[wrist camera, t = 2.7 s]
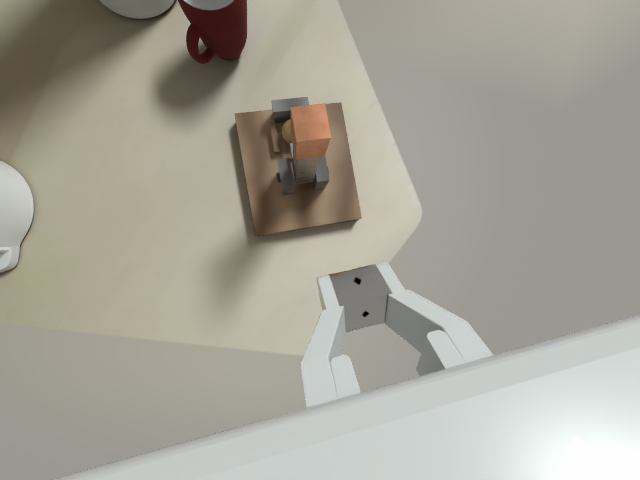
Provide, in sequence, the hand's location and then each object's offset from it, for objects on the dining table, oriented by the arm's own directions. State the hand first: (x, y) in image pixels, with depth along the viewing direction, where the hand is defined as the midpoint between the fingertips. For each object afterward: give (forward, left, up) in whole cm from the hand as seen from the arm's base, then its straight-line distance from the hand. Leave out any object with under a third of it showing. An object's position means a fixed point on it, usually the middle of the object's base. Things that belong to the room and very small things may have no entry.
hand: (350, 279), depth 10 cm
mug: (+5, +33, -28) cm, 44 cm away
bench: (+6, +12, -28) cm, 31 cm away
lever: (+5, +10, -23) cm, 26 cm away
